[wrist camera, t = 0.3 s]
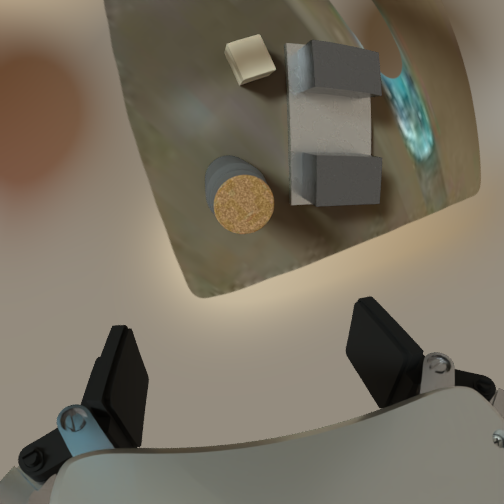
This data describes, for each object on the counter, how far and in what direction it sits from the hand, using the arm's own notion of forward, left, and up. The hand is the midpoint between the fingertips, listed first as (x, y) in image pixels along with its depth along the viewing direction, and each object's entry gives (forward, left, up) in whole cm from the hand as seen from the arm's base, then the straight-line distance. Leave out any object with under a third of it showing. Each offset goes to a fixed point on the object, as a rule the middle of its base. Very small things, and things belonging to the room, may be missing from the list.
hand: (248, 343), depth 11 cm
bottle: (-2, +2, -28) cm, 28 cm away
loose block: (-17, +5, -28) cm, 33 cm away
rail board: (-9, +16, -27) cm, 33 cm away
